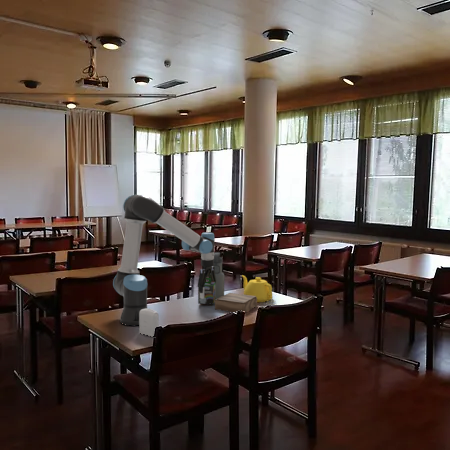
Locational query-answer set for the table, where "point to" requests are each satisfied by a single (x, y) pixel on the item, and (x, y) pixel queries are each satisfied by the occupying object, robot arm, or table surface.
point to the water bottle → (218, 276)
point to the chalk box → (207, 293)
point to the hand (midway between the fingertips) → (206, 296)
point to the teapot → (258, 289)
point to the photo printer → (148, 321)
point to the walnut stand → (235, 302)
